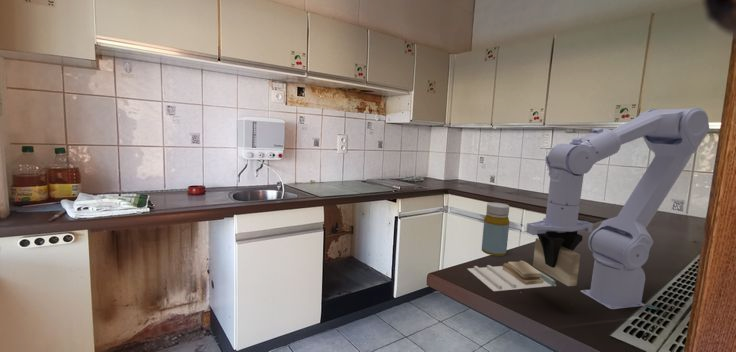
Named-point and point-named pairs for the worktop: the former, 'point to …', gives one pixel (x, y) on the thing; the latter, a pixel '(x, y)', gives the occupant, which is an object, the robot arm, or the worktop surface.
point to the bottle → (496, 229)
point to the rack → (505, 279)
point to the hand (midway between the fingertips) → (555, 265)
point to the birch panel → (559, 264)
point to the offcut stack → (523, 272)
